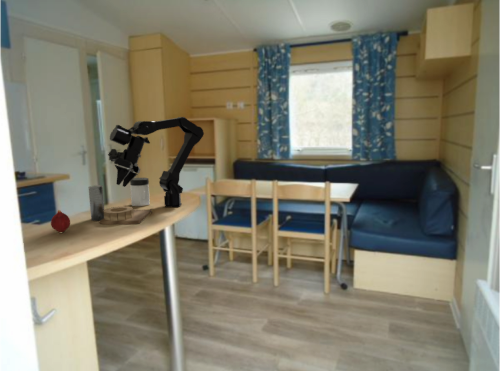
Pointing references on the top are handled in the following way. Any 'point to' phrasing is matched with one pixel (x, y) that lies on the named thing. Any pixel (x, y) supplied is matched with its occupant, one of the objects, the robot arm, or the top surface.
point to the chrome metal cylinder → (96, 202)
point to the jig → (124, 215)
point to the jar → (140, 191)
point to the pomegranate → (60, 222)
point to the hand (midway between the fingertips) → (120, 185)
